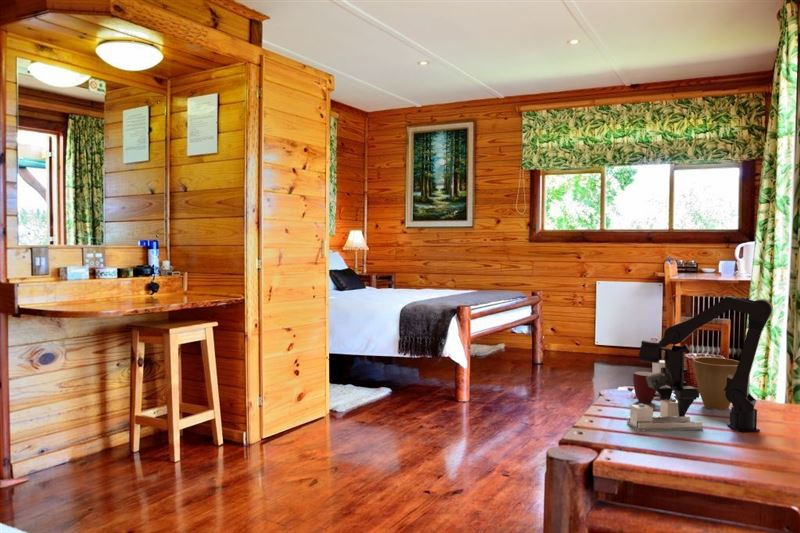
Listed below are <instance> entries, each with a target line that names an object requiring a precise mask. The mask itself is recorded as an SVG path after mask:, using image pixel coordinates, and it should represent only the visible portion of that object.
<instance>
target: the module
mask: <svg viewBox="0 0 800 533" xmlns="http://www.w3.org/2000/svg"><path fill="white" fill-rule="evenodd" d="M659 411H660V413H659V416H679V412H678V401H677V400H676V399H675V398H670V400H661V401H660V410H659ZM684 416H686V414H685V415H684Z"/></svg>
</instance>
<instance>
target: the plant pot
mask: <svg viewBox="0 0 800 533" xmlns="http://www.w3.org/2000/svg"><path fill="white" fill-rule="evenodd" d="M692 360H693V368H694V375H695V376H694V377H695V380H696V383H697V384H696V385H697V389H698V390H699V397H700V398H701V400H702V403H703V406H704V407H705V408H707V409H710V410H715V411H716V410H717V411H725V409H726V410H728V409H729V407H730V406H731V405H732V403H730V402H729V401H728V400H727V398H726V396H725V392H726V390H725V391H724V388H725V387H726V384H727V377H728V376H729V375H732V376H734V374H735V373H736V370H737V366H738V363H739V360H735V359H731V358H725V357H715V356H713V357H712V356H710V357H709V356H700V357H695V358H693V359H692Z"/></svg>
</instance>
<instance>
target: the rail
mask: <svg viewBox="0 0 800 533" xmlns="http://www.w3.org/2000/svg"><path fill="white" fill-rule="evenodd" d="M629 410H630V413H629V416H627V421H626V424H627V425H628V426H630V427H631V426H632V428H633V427H634V428H633V429H635V428H636V429H635V430H637V429H638V430H639V431H638V430H637V431H638V432H656V431H659V432H660V431H662V432H665V431H667V432H668V431H670V432H671V431H703V430H704V427H703V421H691V416H690V415H685V416H660V415H659V416H658V415H657V416H654V407H652V406H650V405H648V404H645V403H638V404H630V408H629ZM643 430H644V431H643Z"/></svg>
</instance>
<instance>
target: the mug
mask: <svg viewBox="0 0 800 533" xmlns="http://www.w3.org/2000/svg"><path fill="white" fill-rule="evenodd" d="M632 374H633V376H632V377H633V378H632V381H633V388H634V395H635V396H636V398H637V401H638V402H639V403H640V404H651V403H652V402H653V400H654V398H660V397H659V394H657V393H656V390H655V389H653V388H651V387H649V386H648V383H647V380H646V377H648V376H650V375H653V374H655V373H652V372H651V371H641V370H640V371H634V372H633V373H632Z"/></svg>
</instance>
